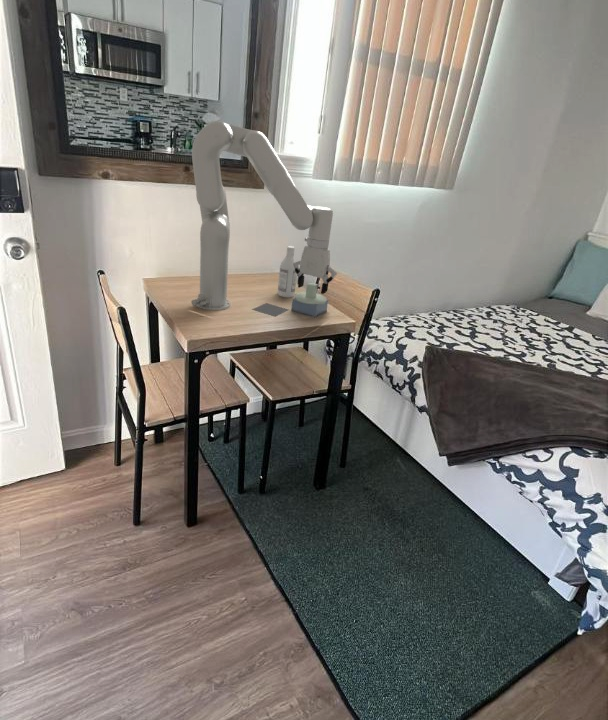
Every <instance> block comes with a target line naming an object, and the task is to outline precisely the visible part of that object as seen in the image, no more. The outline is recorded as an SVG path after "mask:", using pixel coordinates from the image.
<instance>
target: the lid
mask: <svg viewBox="0 0 608 720" xmlns="http://www.w3.org/2000/svg"><path fill="white" fill-rule="evenodd" d="M318 286H319V284H318V283H314V282H308V283H306V289H305V291H301V292H297V293H295V294H294V298H295V299H296V300H297V301H299V302H302V303H305V304H312V305H320V304H324V303H326V300H327V299H328V298H327V297H326V296H324V294H321V293H318Z"/></svg>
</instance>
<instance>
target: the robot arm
mask: <svg viewBox="0 0 608 720" xmlns="http://www.w3.org/2000/svg"><path fill="white" fill-rule="evenodd" d="M191 149H192V150H191V159H192V161H191V162H192V167H193V176H194V183H195V192H196V193H195V195H196V201H197V203H198V205H199V209H200V216H201V217H200V218H201V221H202V222H201V226H200V232H199V233H200V234H199V235H200V236H199V237H200V239H199V241H200V242H199V243H200V245H199V246H200V256H199V257H200V258H199V259H200V261H199V262H200V263H199V265H200V266H199V269H200V270H199V293H198V294H197V295H198V296H197V298H195V299H193V300H191V302H190V303H191V305H192V306H196V307H197V308H200V309H202V310H206V311H224V310H227V309H229V308H230V307H231V302H230V301H229V300H228V299H227V296H228V295H227V292H228V270H229V250H230V249H229V248H230V237H231V236H230V235H231V234H230V233H231V232H230V231H231V230H230V228H231V227H230V224H231V223H230V217H229V209H228V202H227V201H228V200H227V193H226V189H225V187H224V185H223V181H222V180H223V179H222V172H221V163H220V157H221V154H222V153H223V152H225V153H229V154H234V155H237V156H242V157H246V158H247V160H248V161H249V163H250V164H251V166H252V167H253V168H254V170H255V172H256V173H257V174H258V177H259V178H260V179H261V181H262V182H263V184H264V186H265V187H266V189H267V191H268V192H269V193H270V194H271V196H273V197H274V199H275V200H276V202H277V203H278V205H279V206H280V208H281V209H282V211H283V212H284V214H285V215H286V217H287V219H288V220H289V222H290V223H291V225H292V226H293V227H294V228H295V229H296V230H298V231H306V230H307V229H308V234H307V236H308V237H305V238H304V242H306V244H305V245H304V246H303V247H304V248H303V250H302V255H301V258H300V260H299V261H296V262H295V263H293V265H294V268H295V272H296V273H297V277H298V278H297V288H303V287H304V282H305V275H307V276H310V277H315V278H318V279H321V280H322V281H323V282H322V283H321V290H320V295H324V294H326V293H327V292H328V288H329V283H331V282H332V281H333V280H335V277H336V276H337V275H338V272H336V271H335V270H334V269H333V268H332V267H331V266H330V264H331V262H330V260H331V253H330V248H329V244H330V238H331V237H330V236H331V231H332V225H333V224H332V222H333V216H334V213H333V210H332V209H331V208H330V207H326V206H313V205H309V204H307V203H306V201H305V199H304V198H303V196H302V194H301V193H300V191H299V189H298V188H297V186H296V184H295V183H294V181H293V179H292V177H291V175H290V173H289V172H288V170H287V168H286V166H285V165H284V164H283V162H282V161H281V159H280V157H279V156H278V154H277V152H276V151H275V149H274V147H273V146H272V145H271V143H270V141H269V140H268V138H267V136H266V135H265V134H264V133H263V132H261V131H258V130H254V129H253V130H252V129H247V128H244V127H241V126H239V125H238V126H237V125H234V124H230V123H229V122H225V121H224V120H214V121H213V120H212V121H210V123H208V124H206V125H205V126H204V127H203V128H201V129H200V131H199V132H198V133H197V134H196V136H195V138H194V140H193V143H192V148H191ZM329 273H330V274H331V275H330V277H329Z"/></svg>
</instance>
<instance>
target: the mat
mask: <svg viewBox="0 0 608 720" xmlns="http://www.w3.org/2000/svg"><path fill="white" fill-rule="evenodd" d="M251 310H253V311H255V312H259V313H262V314H265V315H269V316H272V317H277V316H279V315H282V314H284V313H285V312H287V311H290V309H288V308H285V307H282V306H278V305H276V304H271V303H268V302H265V303H263V304H260V305H259V306H256V307H253V308H252V309H251Z"/></svg>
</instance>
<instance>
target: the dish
mask: <svg viewBox="0 0 608 720" xmlns="http://www.w3.org/2000/svg"><path fill="white" fill-rule="evenodd" d="M326 299H327V300H326V303H324V304H320V305H312V304H305V303H302V302H299V301H297V300H296V299H295V297H292V302H291V311H292V312H295V313H299V314H302V315H305V316H309V317H312V318H317V317H318V316H320V315H322V314H324V313H326V312H327V310H328V303H329V299H328V298H326Z"/></svg>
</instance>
